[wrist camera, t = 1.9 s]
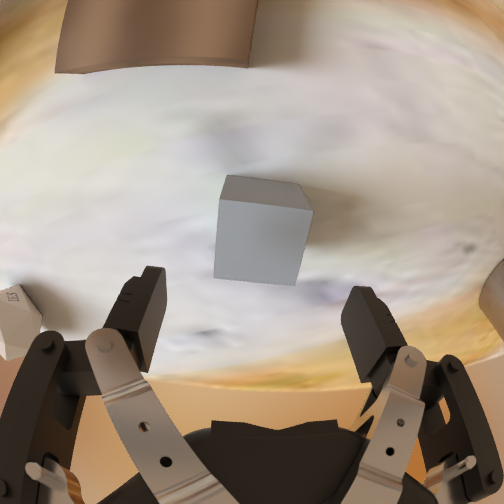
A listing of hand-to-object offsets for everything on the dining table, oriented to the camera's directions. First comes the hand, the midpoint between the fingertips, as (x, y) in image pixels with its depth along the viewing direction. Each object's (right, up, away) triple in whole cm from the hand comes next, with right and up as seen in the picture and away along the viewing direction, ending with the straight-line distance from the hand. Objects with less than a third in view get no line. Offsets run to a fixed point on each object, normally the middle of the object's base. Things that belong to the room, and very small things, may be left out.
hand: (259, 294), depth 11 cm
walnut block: (-6, +19, 0) cm, 20 cm away
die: (-28, -4, +14) cm, 32 cm away
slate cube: (0, +5, +8) cm, 10 cm away
